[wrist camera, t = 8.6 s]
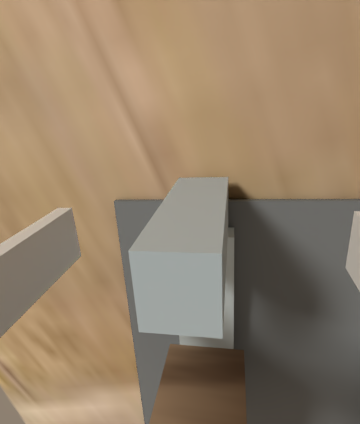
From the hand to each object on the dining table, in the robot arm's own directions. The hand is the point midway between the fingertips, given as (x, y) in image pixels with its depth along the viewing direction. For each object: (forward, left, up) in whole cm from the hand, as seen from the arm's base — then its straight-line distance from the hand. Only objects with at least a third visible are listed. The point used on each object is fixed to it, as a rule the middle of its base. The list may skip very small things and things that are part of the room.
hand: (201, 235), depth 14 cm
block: (+14, 0, -5) cm, 15 cm away
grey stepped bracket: (+9, 0, -7) cm, 11 cm away
